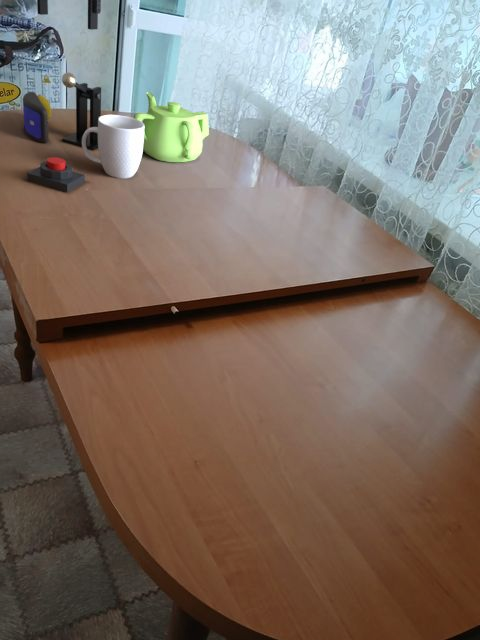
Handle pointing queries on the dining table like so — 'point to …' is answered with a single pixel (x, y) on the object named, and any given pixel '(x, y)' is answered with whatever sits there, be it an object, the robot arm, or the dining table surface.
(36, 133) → the blue panel tablet
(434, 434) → the dining table surface
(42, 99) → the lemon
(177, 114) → the teapot
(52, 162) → the button
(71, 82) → the lever
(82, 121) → the pendulum stand
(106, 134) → the mug
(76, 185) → the button box
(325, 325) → the dining table surface
